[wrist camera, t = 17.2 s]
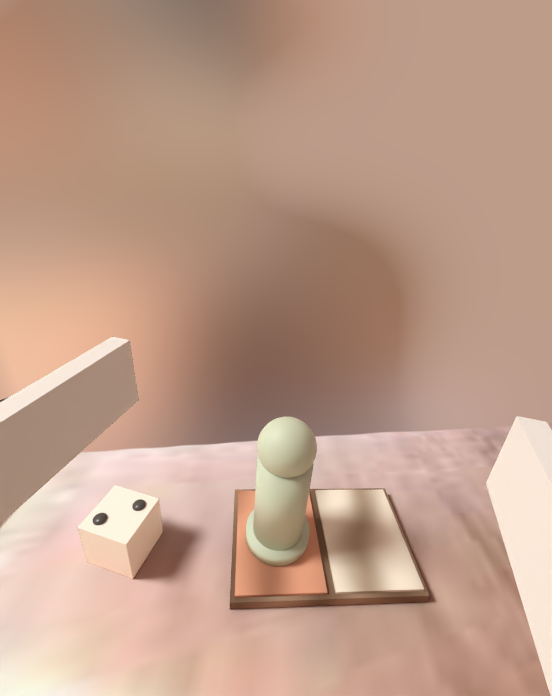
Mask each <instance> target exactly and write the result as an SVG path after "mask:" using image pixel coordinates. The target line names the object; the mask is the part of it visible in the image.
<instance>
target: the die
mask: <svg viewBox="0 0 552 696" xmlns="http://www.w3.org/2000/svg"><path fill="white" fill-rule="evenodd" d="M77 528H78V531H79V535H80V538H81V542H82V545H83V549H84V552H85V556H86V559H87V562H89V563H91V564H94V565H97V566H99V567H102V568H104V569H107V570H110V571H112V572H115V573H118V574H120V575H123V576H126V577H128V578H131V579H133V578H134V577H135V575H136V574H137V572H138V570H139V569H140V567H141V566H142V564H143V563H144V561H145V559H146V558H147V556H148V555H149V553H150V552H151V550H152V548H153V547H154V545H155V544H156V542H157V541H158V539H159V537H160V536H161V534H162V533H163V528H162V520H161V512H160V504H159V499H158V498H155V497H152V496H149V495H145V494H142V493H139V492H136V491H133V490H129V489H126V488H123V487H120V486H116V485H115V486H114V487H113V488H112V489H111V490H110V491H109V493H108V494H107V495H106V496H105V497H104V498H103V499H102V500H101V502H100V503H99V504H98V505H97V506H96V507H95V508H94V509H93V511H92V512H91V513H90V514H89V515H88V516H87V517H86V518H85V520H84V521H83V522H82V523H81V524H80V525H79V526H78V527H77Z"/></svg>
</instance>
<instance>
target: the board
mask: <svg viewBox="0 0 552 696" xmlns="http://www.w3.org/2000/svg"><path fill="white" fill-rule="evenodd" d="M254 504H255V490H235V502H234V524H233V546H232V568H231V590H230V609H249V608H276V607H302V606H329V605H355V604H382V603H409V602H427V600H428V598H429V596H430V595H429V593H428V590H427V588H426V586H425V583H424V581H423V579H422V576H421V574H420V571H419V569H418V567H417V564H416V562H415V559H414V557H413V555H412V552H411V550H410V548H409V545H408V543H407V540H406V538H405V536H404V533H403V531H402V528H401V526H400V524H399V521H398V519H397V517H396V514H395V512H394V509H393V507H392V505H391V502H390V500H389V498H388V495H387V493H386V490H385V489H309V495H308V501H307V508H306V514H305V517H306V518H307V521H308V523H309V528H310V534H309V540H308V546H307V549H306V551H305V553H304V554H303V555H302V557H301V558H300V559H298V560H297V561H296V562H294V563H292V564H289V565H286V566H271V565H268V564H265V563H263V562H261V561H260V560H258V559H257V558H256V557H255V556H254V555H253V554H252V553H251V551H250V550H249V548H248V546H247V542H246V523H247V519H248V517H249V515H250V513H251V512H252V511H253V510H254Z"/></svg>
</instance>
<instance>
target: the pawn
mask: <svg viewBox="0 0 552 696" xmlns="http://www.w3.org/2000/svg"><path fill="white" fill-rule="evenodd" d="M257 452H258V458H257V474H256V489H255V504H254V510H253V511H252V512H251V513H250V515H249V517H248V519H247V523H246V542H247V546H248V548H249V550H250V551H251V553H252V554H253V555H254V556H255V557H256V558H257V559H258V560H260V561H261V562H263V563H265V564H268V565H271V566H286V565H289V564H292V563H294V562H296V561H297V560H298V559H300V558H301V557H302V555H303V554H304V553H305V551H306V549H307V546H308V540H309V534H310V528H309V523H308V521H307V518H306V517H305V514H306V508H307V501H308V495H309V489H310V482H311V476H312V470H313V462H314V459H315V457H316V452H317V444H316V439H315V436H314V434H313V432H312V430H311V429H310V428H309V427H308V426H307V425H306V424H305V423H304V422H303V421H301V420H299V419H297V418H293V417H280V418H277V419H274V420H273V421H271V422H269V424H267V425H266V426H265V427H264V428H263V430H262V431H261V433H260V436H259V438H258V443H257Z"/></svg>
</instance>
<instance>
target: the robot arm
mask: <svg viewBox="0 0 552 696" xmlns="http://www.w3.org/2000/svg"><path fill="white" fill-rule="evenodd" d="M138 400H139V398H138V391H137V385H136V378H135V372H134V366H133V359H132V352H131V346H130V340H126V339H121V338H116V337H111V338H109V339H108V340H106V341H104V342H103V343H101V344H99V345H98V346H96V347H94V348H92V349H91V350H89V351H87V352H86V353H84V354H82V355H80V356H79V357H77V358H75V359H74V360H72V361H70V362H68V363H67V364H65V365H63V366H62V367H60V368H58V369H56V370H55V371H53V372H51V373H50V374H48V375H46V376H45V377H43V378H41V379H40V380H38V381H36V382H34V383H33V384H31V385H29V386H28V387H26V388H24V389H22V390H21V391H19V392H17V393H15V394H14V395H12V396H10V397H8V398H5V399H2V400H0V524H1V523H2V522H3V521H4V520H5V519H7V518H8V517H9V516H10V515H11V514H12V513H13V512H14V511H16V510H17V509H18V508H19V507H20V506H21V505H22V504H23V503H24V502H26V501H27V500H28V499H29V498H30V497H31V496H32V495H33V494H34V493H36V492H37V491H38V490H39V489H40V488H41V487H42V486H43V485H45V484H46V483H47V482H48V481H49V480H50V479H51V478H52V477H53V476H55V475H56V474H57V473H58V472H59V471H60V470H61V469H62V468H64V467H65V466H66V465H67V464H68V463H69V462H70V461H71V460H72V459H74V458H75V457H76V456H77V455H78V454H79V453H80V452H81V451H82V450H84V449H85V448H86V447H87V446H88V445H89V444H90V443H91V442H93V440H95V439H96V438H97V437H98V436H99V435H100V434H101V433H103V432H104V431H105V430H106V429H107V428H108V427H109V426H110V425H111V424H113V423H114V422H115V421H116V420H117V419H118V418H119V417H120V416H121V415H123V414H124V413H125V412H126V411H127V410H128V409H129V408H130V407H132V406H133V405H134V404H135V403H136V402H137V401H138ZM486 485H487V488H488V491H489V494H490V498H491V501H492V504H493V508H494V511H495V514H496V518H497V521H498V524H499V527H500V531H501V534H502V537H503V541H504V544H505V547H506V550H507V554H508V557H509V560H510V564H511V567H512V570H513V574H514V577H515V580H516V583H517V587H518V590H519V593H520V597H521V600H522V603H523V606H524V610H525V613H526V616H527V620H528V623H529V626H530V630H531V633H532V636H533V639H534V643H535V646H536V649H537V653H538V656H539V659H540V662H541V666H542V669H543V672H544V676H545V679H546V682H547V686H548V689H549V692H550V695H551V696H552V430H551V429H550V427H549V425H548V424H547V422H544V421H539V420H534V419H528V418H524V417H519V416H517V417H516V419H515V421H514V423H513V425H512V428H511V430H510V432H509V434H508V436H507V439H506V441H505V443H504V445H503V447H502V449H501V452H500V454H499V456H498V458H497V460H496V463H495V465H494V467H493V469H492V471H491V474H490V476H489V478H488V480H487V482H486Z"/></svg>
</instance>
